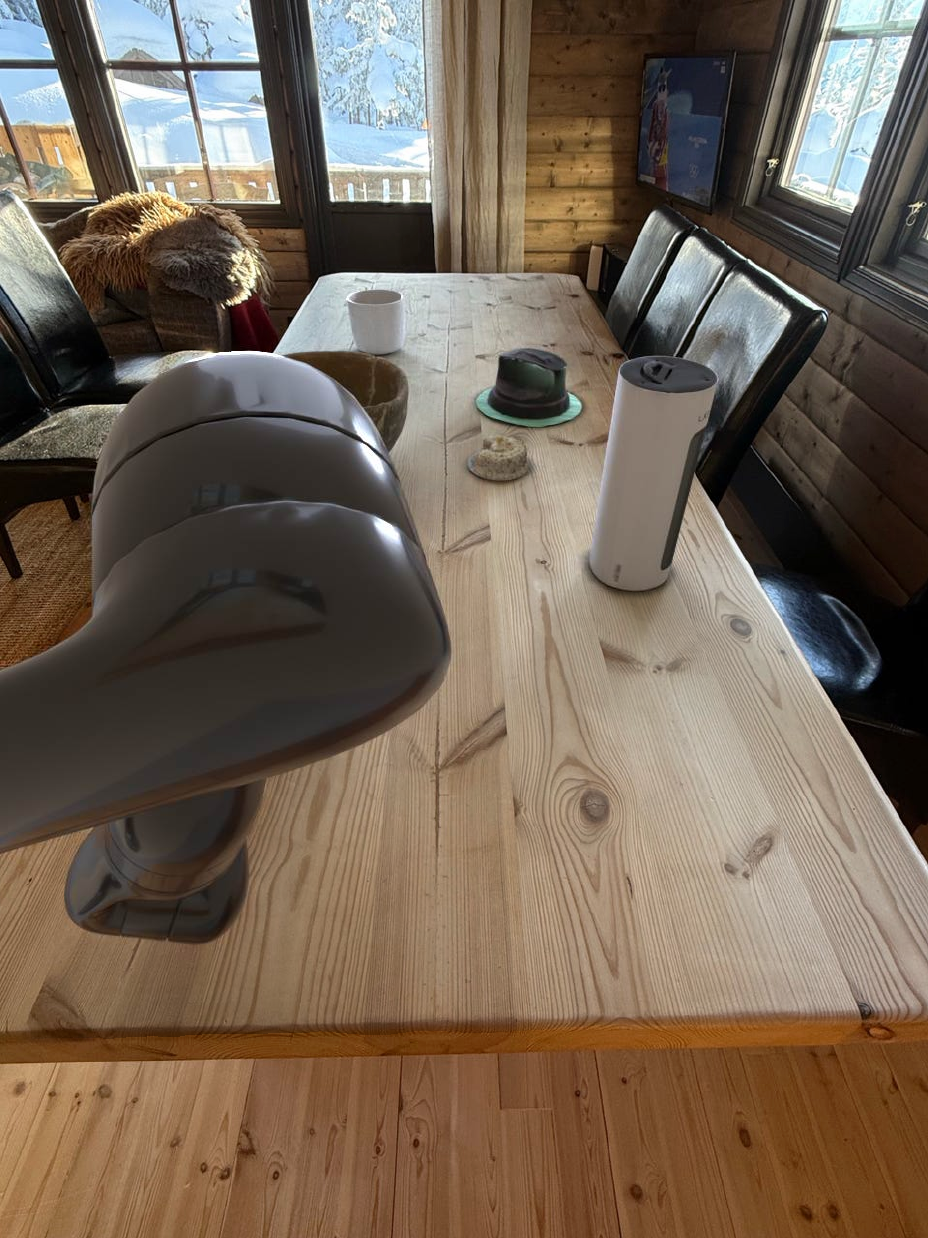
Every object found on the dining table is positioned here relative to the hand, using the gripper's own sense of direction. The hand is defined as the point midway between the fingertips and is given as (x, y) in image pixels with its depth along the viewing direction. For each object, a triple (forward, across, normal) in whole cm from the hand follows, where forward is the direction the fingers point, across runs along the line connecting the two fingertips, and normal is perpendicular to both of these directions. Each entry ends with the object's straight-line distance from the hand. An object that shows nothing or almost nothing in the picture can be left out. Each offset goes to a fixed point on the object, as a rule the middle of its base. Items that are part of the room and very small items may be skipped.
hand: (253, 570), depth 67 cm
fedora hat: (+65, -39, +10) cm, 77 cm away
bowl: (+41, -2, +11) cm, 42 cm away
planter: (+98, -10, +10) cm, 99 cm away
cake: (+41, -30, +11) cm, 52 cm away
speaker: (+12, -44, +11) cm, 47 cm away
